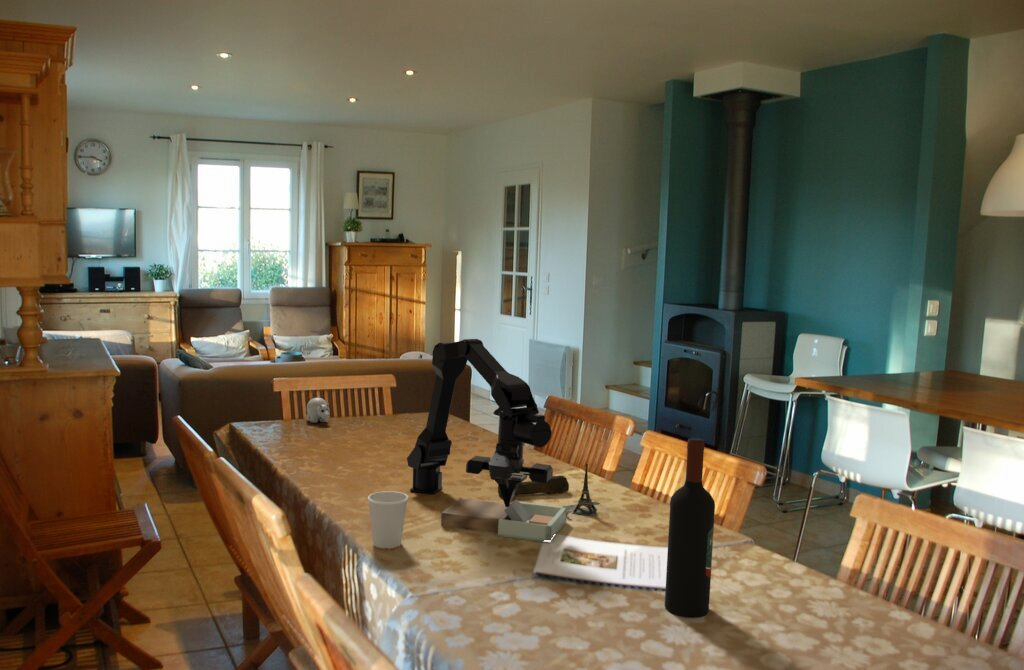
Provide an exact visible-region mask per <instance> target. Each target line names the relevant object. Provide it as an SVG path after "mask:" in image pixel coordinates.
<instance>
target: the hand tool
mask: <svg viewBox="0 0 1024 670" xmlns="http://www.w3.org/2000/svg"><path fill="white" fill-rule="evenodd" d="M569 490H570V484H569V482H568V479H567V477H565V476H564V475H553V477H552V478H551V479H550V480H549V481H548V482H547V483H541V482H533V481H531V480H529V481H523V482H521V483H520V484H519V485H518V487H517V489H516V491H515V494H514V496H521V495H522V496H525V495H538V494H547V495H549V496H552V495H553V496H554V495H559V494H565V493H568V492H569ZM497 493H498V496H499V498H501V499H503V497H502V493H501V490H500V488H499V486H498V485H497ZM514 496H513V497H514Z"/></svg>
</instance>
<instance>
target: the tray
mask: <svg viewBox="0 0 1024 670" xmlns="http://www.w3.org/2000/svg"><path fill="white" fill-rule="evenodd" d="M519 502H520V504H521V505H522V506H523V507H524V509H525V510H526V511H527V512H528V514H529V515H530V516H531V517H530V518H529V519H528V520H527V521H526V522H520V521H513V520H505V519H499V522H498V534H497V536H498V537H503V538H509V539H510V538H511V539H517V540H518V539H519V540H525V541H532V542H539V543H544V542H543V541H544V540H551V538H552V537H553V535H554V534H556V535H558V534H559V532H560V530H562V528H563V527H564V526H565V524H566V523H567V519H566V516H567V514H566V512H567V507H563V506H560V505H559V506H558V505H549V504H541V503H533V502H525V501H519ZM534 515H543V516H551V517H553V518H552V520H551V521H550V522H549V523H548V524H547V525H544V524H536V523H529V521H530V519H531V518H532V517H533V516H534Z"/></svg>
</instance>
